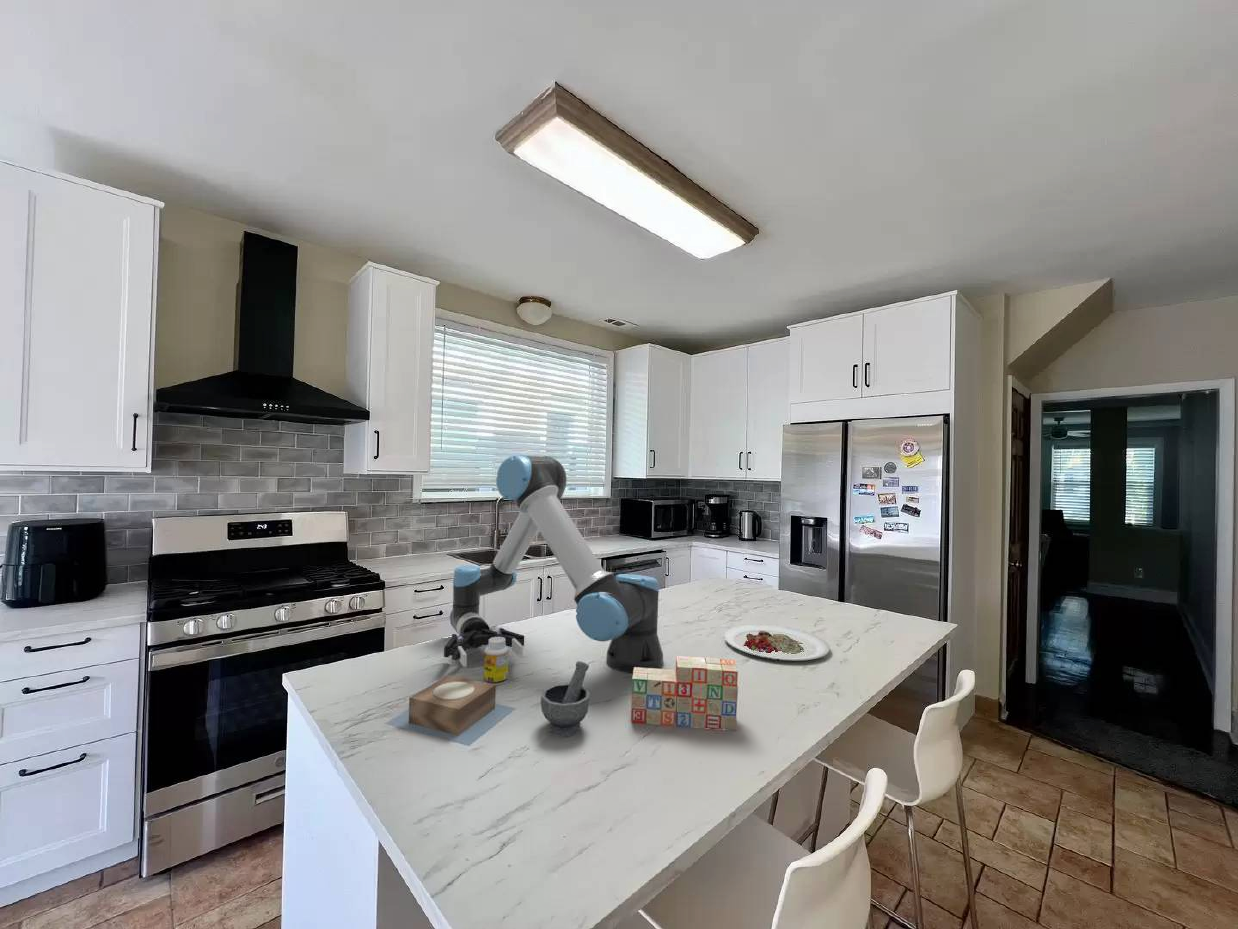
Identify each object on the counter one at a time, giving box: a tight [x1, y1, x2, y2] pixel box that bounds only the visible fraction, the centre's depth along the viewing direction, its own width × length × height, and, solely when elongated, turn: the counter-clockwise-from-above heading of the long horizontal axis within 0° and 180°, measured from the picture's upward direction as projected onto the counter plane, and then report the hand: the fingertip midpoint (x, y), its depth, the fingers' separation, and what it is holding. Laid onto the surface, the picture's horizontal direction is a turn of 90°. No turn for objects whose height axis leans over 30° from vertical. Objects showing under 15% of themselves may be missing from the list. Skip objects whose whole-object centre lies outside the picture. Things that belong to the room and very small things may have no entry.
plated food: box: [723, 624, 831, 662], centre depth 154 cm, size 30×30×3 cm
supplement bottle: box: [483, 637, 510, 686], centre depth 123 cm, size 6×6×10 cm
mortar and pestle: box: [540, 660, 591, 738], centre depth 103 cm, size 11×9×12 cm
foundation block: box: [408, 674, 497, 736], centre depth 106 cm, size 12×12×5 cm
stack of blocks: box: [630, 655, 739, 731], centre depth 107 cm, size 21×6×12 cm, turn 84°
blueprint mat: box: [384, 702, 517, 746], centre depth 106 cm, size 20×16×1 cm
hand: (493, 656), depth 124 cm, fingers open, 13 cm apart
